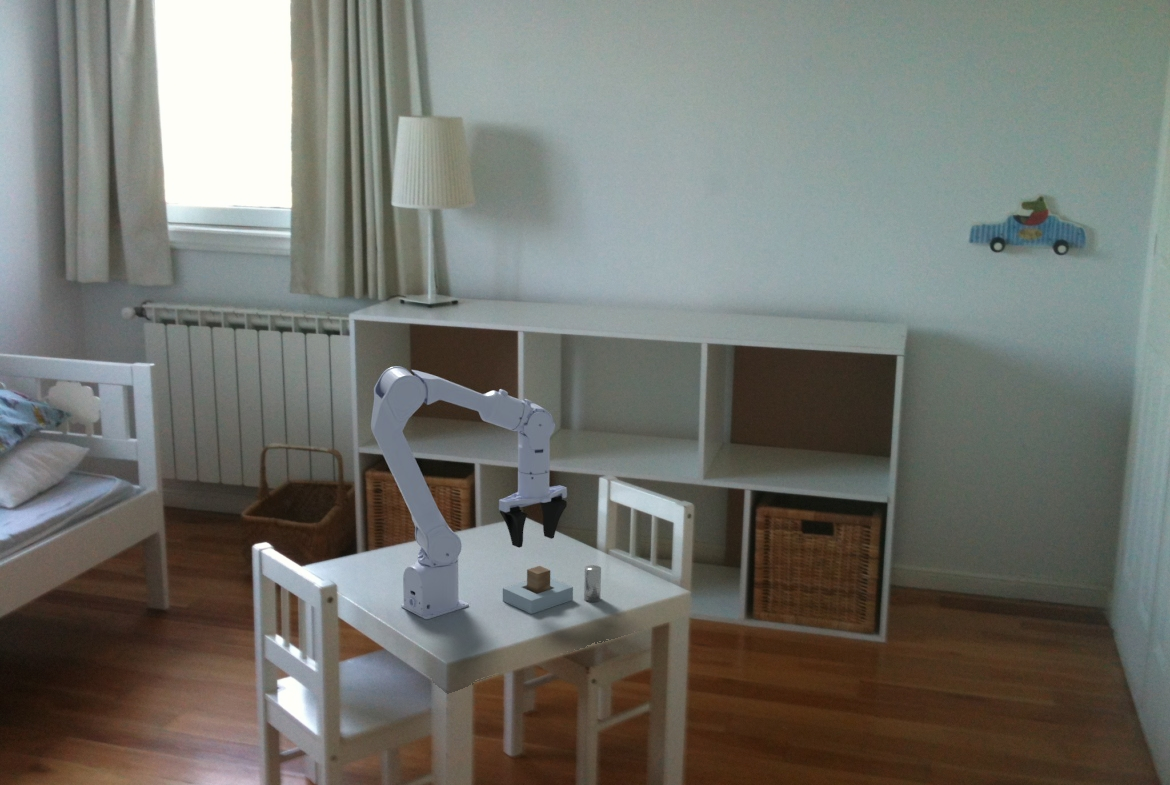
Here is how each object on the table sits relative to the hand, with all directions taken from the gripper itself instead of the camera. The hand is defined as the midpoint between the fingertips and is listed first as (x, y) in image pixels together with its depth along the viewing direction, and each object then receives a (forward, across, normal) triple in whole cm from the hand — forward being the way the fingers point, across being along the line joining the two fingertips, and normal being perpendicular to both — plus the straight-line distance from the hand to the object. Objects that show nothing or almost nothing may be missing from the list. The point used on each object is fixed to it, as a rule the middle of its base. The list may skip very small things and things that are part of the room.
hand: (533, 541), depth 209 cm
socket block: (+10, -2, -4) cm, 11 cm away
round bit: (+10, +6, -9) cm, 15 cm away
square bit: (+10, -2, -4) cm, 11 cm away
